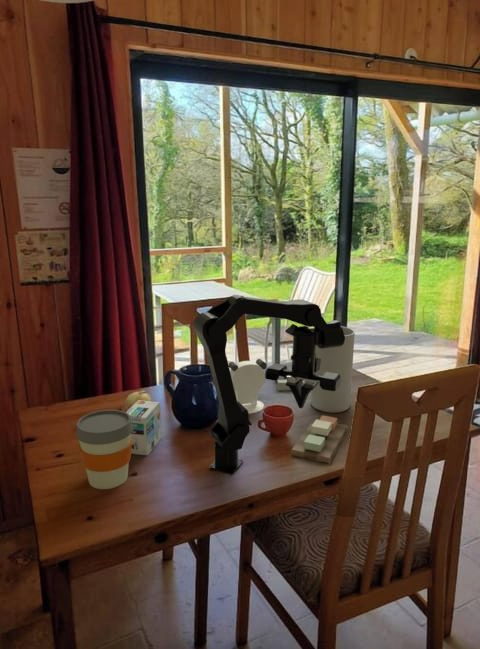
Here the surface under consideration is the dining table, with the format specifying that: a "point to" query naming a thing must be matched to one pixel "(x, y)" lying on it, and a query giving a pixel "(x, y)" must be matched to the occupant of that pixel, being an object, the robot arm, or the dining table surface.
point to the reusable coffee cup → (105, 447)
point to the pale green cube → (314, 443)
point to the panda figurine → (248, 383)
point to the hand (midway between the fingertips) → (301, 407)
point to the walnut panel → (329, 448)
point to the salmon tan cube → (329, 419)
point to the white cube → (321, 428)
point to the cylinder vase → (338, 363)
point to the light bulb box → (145, 426)
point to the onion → (136, 398)
